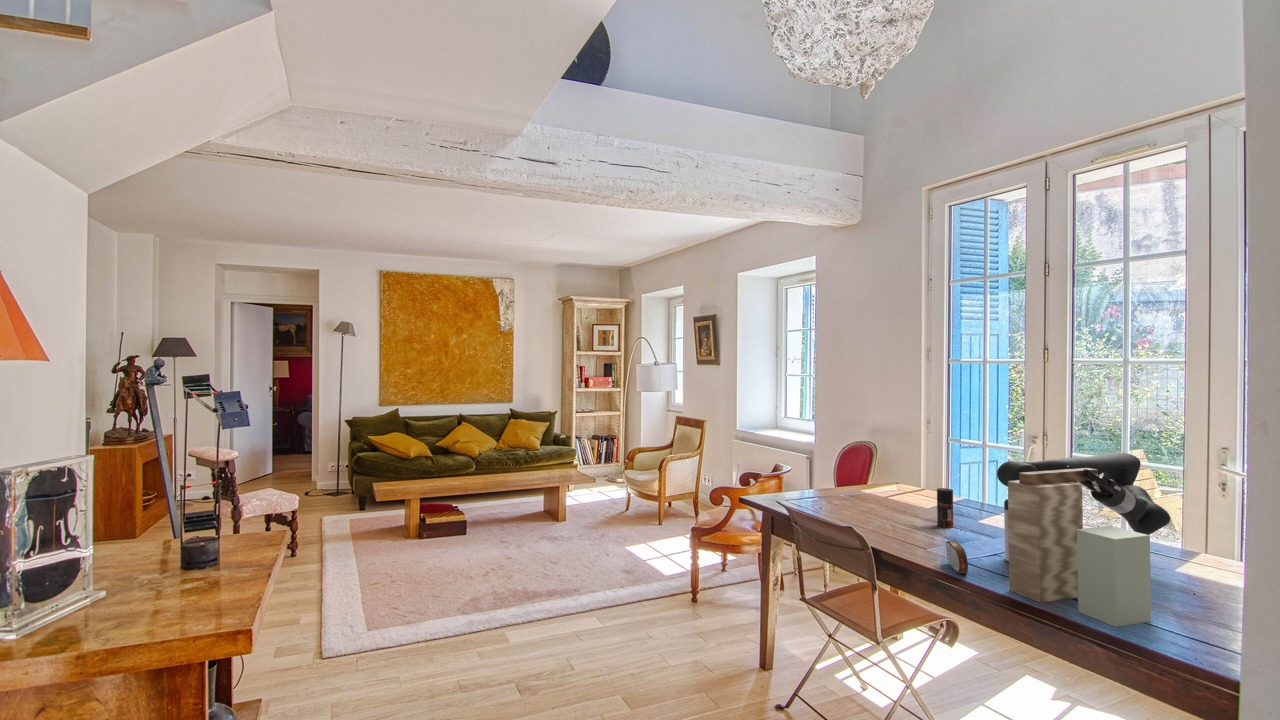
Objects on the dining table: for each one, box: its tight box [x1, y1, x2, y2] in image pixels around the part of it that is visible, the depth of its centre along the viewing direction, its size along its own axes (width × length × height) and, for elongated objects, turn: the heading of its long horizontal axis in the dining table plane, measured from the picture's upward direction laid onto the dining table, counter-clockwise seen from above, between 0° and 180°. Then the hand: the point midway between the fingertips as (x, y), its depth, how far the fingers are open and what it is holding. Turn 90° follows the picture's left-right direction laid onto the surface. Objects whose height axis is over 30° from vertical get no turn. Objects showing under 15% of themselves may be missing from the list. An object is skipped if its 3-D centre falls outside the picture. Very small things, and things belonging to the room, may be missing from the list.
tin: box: [945, 539, 969, 575], centre depth 201 cm, size 15×3×8 cm, turn 168°
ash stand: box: [1007, 480, 1084, 603], centre depth 180 cm, size 16×10×32 cm, turn 106°
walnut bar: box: [1019, 468, 1098, 485], centre depth 181 cm, size 26×3×3 cm, turn 106°
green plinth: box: [1077, 525, 1152, 628], centre depth 163 cm, size 12×10×22 cm
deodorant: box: [936, 487, 954, 529], centre depth 255 cm, size 6×6×15 cm
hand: (1075, 470), depth 183 cm, fingers open, 5 cm apart
